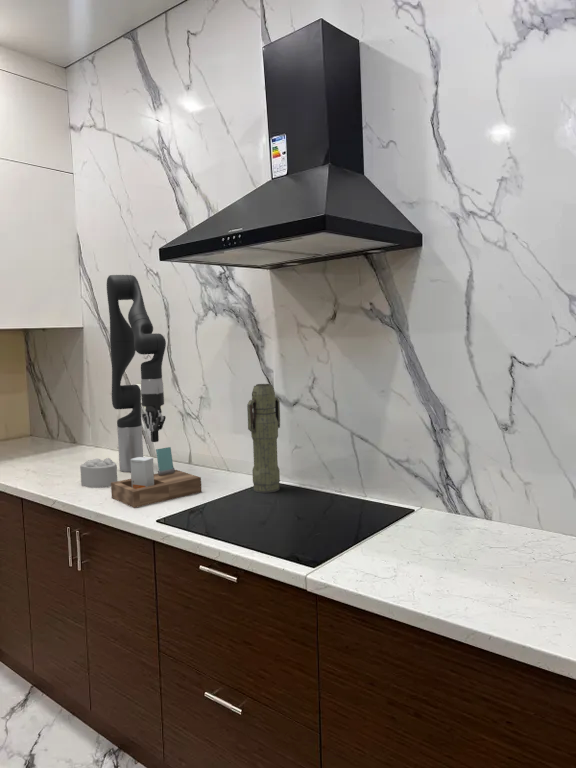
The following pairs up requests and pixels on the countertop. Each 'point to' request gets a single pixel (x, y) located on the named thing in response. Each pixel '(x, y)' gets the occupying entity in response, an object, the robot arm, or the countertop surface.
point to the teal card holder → (165, 461)
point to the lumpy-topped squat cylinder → (98, 473)
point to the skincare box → (142, 472)
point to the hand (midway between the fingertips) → (154, 441)
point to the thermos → (264, 437)
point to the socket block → (157, 489)
